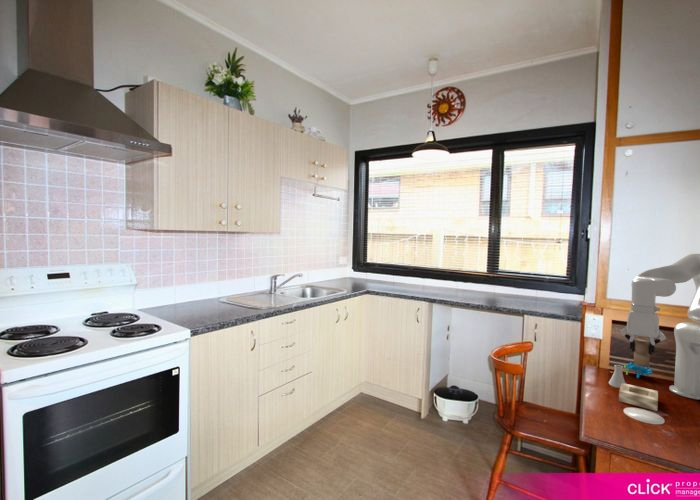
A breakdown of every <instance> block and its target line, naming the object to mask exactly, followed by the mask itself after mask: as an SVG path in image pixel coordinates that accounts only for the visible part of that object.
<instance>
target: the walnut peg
mask: <svg viewBox="0 0 700 500" xmlns="http://www.w3.org/2000/svg"><path fill="white" fill-rule="evenodd" d="M650 343H651V341H650V340H649V341H648V340H645V339H638V338H637V339H634V352H633V364H635V365H637V366H640V367H644V368H646V367H650V364H651V363H650V360H651V359H650V357H651V355H650V354H649V353H650Z"/></svg>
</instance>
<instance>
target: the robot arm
mask: <svg viewBox="0 0 700 500" xmlns="http://www.w3.org/2000/svg"><path fill="white" fill-rule="evenodd" d="M690 280H693V282H694V283H693V284H695V293H694V296H693V298H692V300H691V303H690V305H689V306H688V310H687V312H686V313H687V317H688V319H689V320H690V321H693V322H688V321H685V322H683V321H682V322H679V323H677V324H676V325H675V326H674V329H673V333H674V340H675V364H674V366H675V367H674V381H673V382H674V383H673V384H674V385H673V384H672V385H669V386H668V387H669V388H668V389H669V391H671V392H672V393H674V394H676V395H678V396H681V397H684V398H688V399H692V400H700V253H691V254H690V253H689V254H687V255H685V256H684V257H682V258H680V259H678V260H677V261H675V262H674V263H672V264H669V265H665V266H660V267H654V268H652V269H648V270H644V271H643V272H641V273H639V274H637V275H636V276H635V277H634V278H633V280H632V281H631V306H630V307H631V309H630V310H628V315H627V321H626V326H625V327H623V328H622V329H621V330H620V331H619V332H620V334H621V335H622V336H624V337H625V338H626V339H627V340H628V341H629V349H631V352H632V353H634V340H635V337H641V338H648V339H649V342H650V353H649V354H650V356H652V355H653V353H655V345H657V344H659V343H660V342H663V341H665V340H666V339H667V337H666V336H665V334H664V333H663V332H662V331H661V330H660V320H659V314H658V312H660V311H661V307H657V306H656V298H657V297H666V298H667V297H670V296H672V295H674V294H675V293H676V290H677V285H676V284H683V283H686V282H689V281H690Z"/></svg>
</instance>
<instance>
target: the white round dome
mask: <svg viewBox="0 0 700 500" xmlns="http://www.w3.org/2000/svg"><path fill="white" fill-rule="evenodd" d="M623 413H624V415H626V416H628V417H629V418H631V419H633V420H636V421H638V422H642V423H646V424H651V425H663V424H664V423H665V422H666V421H665V419H664V417H662V416H660V415H659V414H658V413H655V412H652V411H651V410H648V409H647V410H646V409H645V408H644V409H643V408H638V407H625V408H623Z"/></svg>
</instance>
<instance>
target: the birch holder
mask: <svg viewBox="0 0 700 500" xmlns="http://www.w3.org/2000/svg"><path fill="white" fill-rule="evenodd" d="M625 383H626V382H625ZM625 383H621V387H620V388H619V390H618V391H619V392H618V402H621V403H626V404H629V405H633V406H637V407H641V408H644V409H647V410H653V411H655V412H656V411H657V412H658V408H659V407H658V405H659V403H658V402H659V391H658V390H654V389H652V388H651V389H649V388H646V387H642V386H638V385H633V384H628V383H626V384H625Z"/></svg>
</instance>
